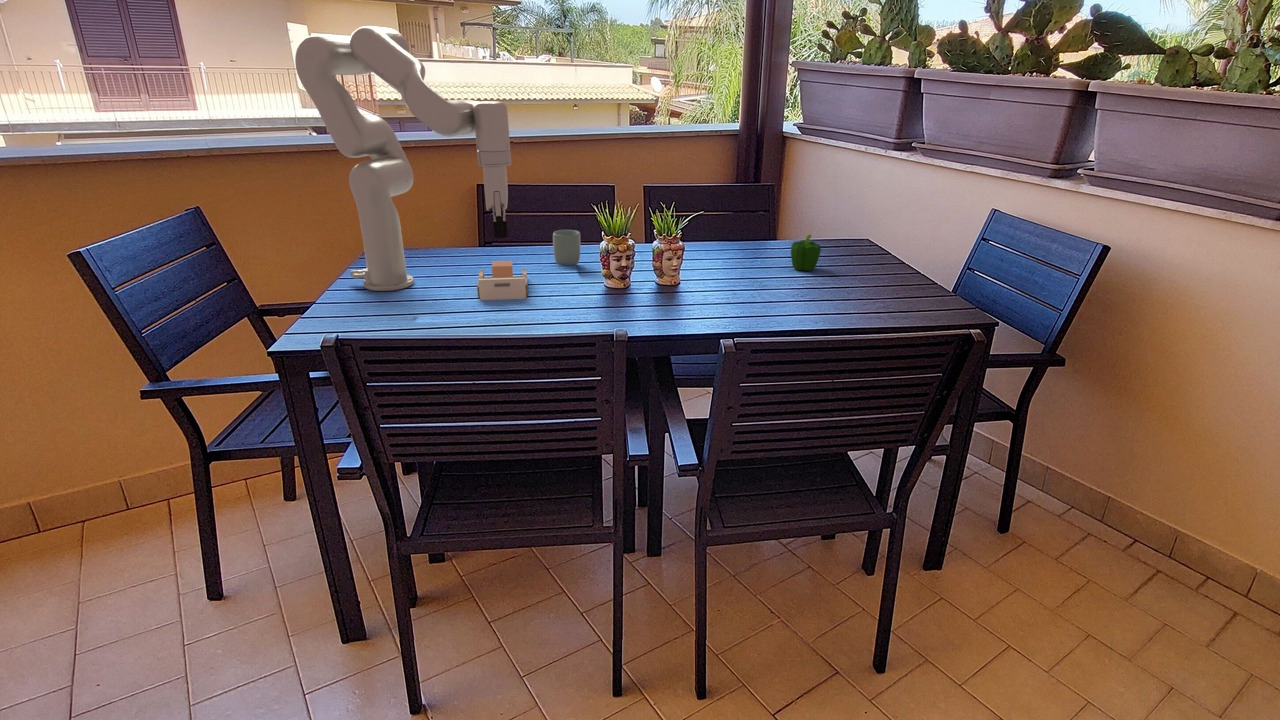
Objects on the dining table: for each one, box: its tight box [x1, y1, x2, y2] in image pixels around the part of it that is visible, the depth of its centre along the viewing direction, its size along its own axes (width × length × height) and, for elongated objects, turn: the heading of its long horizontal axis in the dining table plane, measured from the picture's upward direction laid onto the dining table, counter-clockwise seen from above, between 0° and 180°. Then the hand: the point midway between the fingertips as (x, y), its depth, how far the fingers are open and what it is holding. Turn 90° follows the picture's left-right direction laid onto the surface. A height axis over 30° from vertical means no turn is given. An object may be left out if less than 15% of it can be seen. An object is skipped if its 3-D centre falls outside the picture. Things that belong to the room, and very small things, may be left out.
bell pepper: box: [790, 234, 821, 272], centre depth 192 cm, size 8×8×10 cm
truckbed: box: [476, 268, 529, 300], centre depth 167 cm, size 15×12×4 cm
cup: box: [552, 229, 581, 267], centre depth 190 cm, size 8×8×10 cm
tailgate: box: [477, 277, 527, 301], centre depth 159 cm, size 1×11×6 cm, turn 100°
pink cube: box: [491, 260, 514, 278], centre depth 167 cm, size 5×5×6 cm
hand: (501, 237), depth 158 cm, fingers closed
